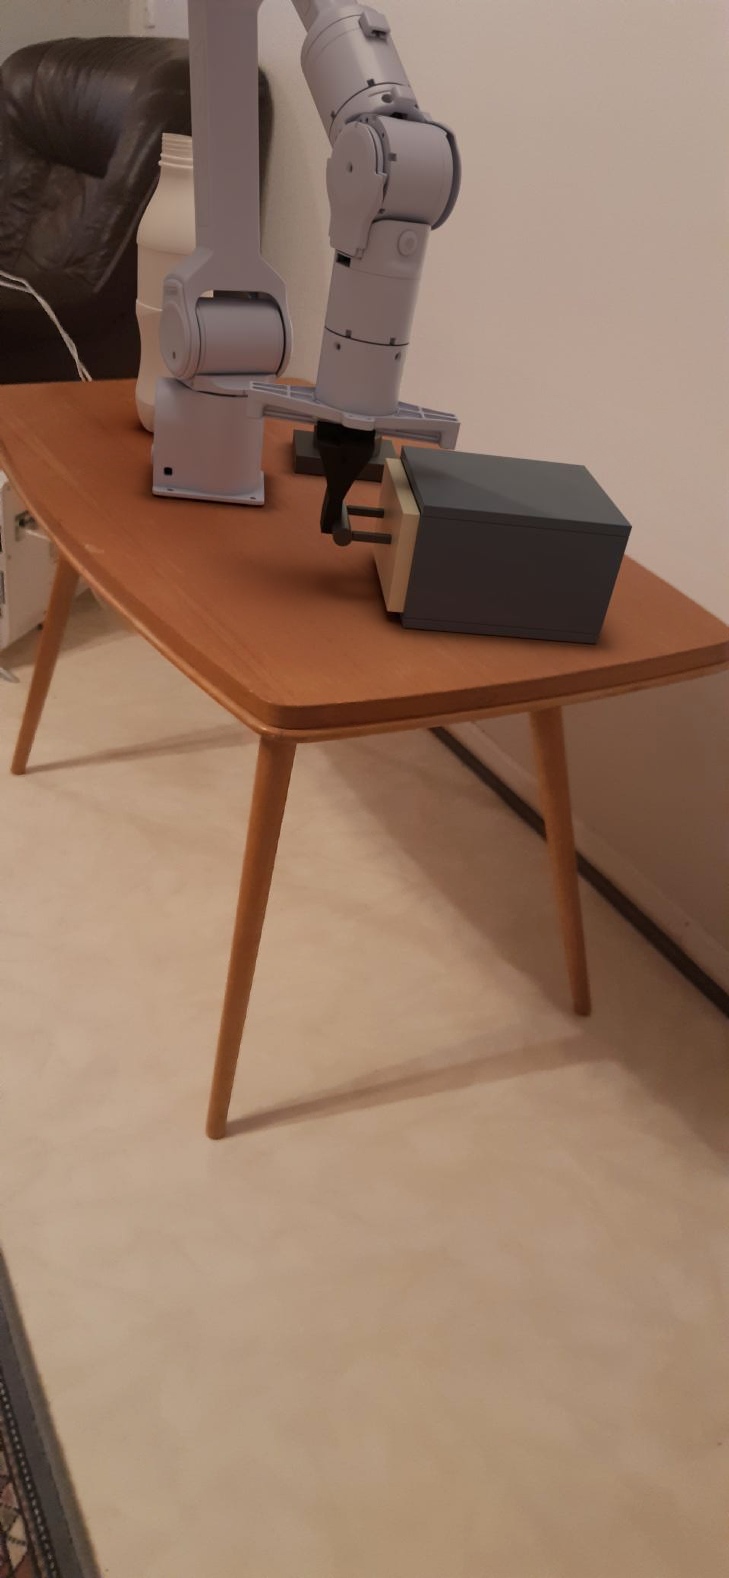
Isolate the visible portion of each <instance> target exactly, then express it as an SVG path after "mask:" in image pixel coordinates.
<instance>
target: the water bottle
mask: <svg viewBox="0 0 729 1578" xmlns="http://www.w3.org/2000/svg"><path fill="white" fill-rule="evenodd" d="M161 140H162V141H161V153H160V156H159V157H161V158H160V160H159V161H158V163H157V164H158V166H160V174H159V180H158V183H157V186H156V189H155V191H154V193H153V195H152V196H151V199H150V201H149V202H148V205H147V206H146V209H145V210H144V213H143V214H142V217H141V220H140V221H139V225H138V227H137V234H136V244H137V298H136V300H135V315H136V319H137V324H138V329H139V336H140V361H139V370H138V376H137V380H136V384H135V388H134V389H135V396H134V397H135V399H134V400H135V407H136V411H137V414H138V418H139V420H140V422H141V424H142V426H143V428H144V429H145V430H146V431H148V432H150V433H152V434H154V410H155V393H156V383H157V378H158V377H174V376H173V375H172V373H171V372H170V370H169V369H168V368H167V366H166V365H165V363H164V360H163V357H162V354H161V349H160V343H159V320H160V315H161V311H162V301H163V284H164V283H163V280H164V278H165V277H166V276H167V275H168V274H169V272H170V271H171V270H173V269H174V268H175V267H176V266H177V265H178V264H179V263H181V262H182V261H183V260H184V259H185V258H186V257H188V256H189V255H190V254H191V253H192V252H193V251H194V250H195V248H196V238H195V208H194V179H193V150H192V136H189V135H184V134H179V133H178V134H177V133H170V132H169V133H168V132H163V133H162V137H161ZM199 297H214V290H211V291H206V292H204V293H203V294H202V295H200V296H199Z"/></svg>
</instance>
